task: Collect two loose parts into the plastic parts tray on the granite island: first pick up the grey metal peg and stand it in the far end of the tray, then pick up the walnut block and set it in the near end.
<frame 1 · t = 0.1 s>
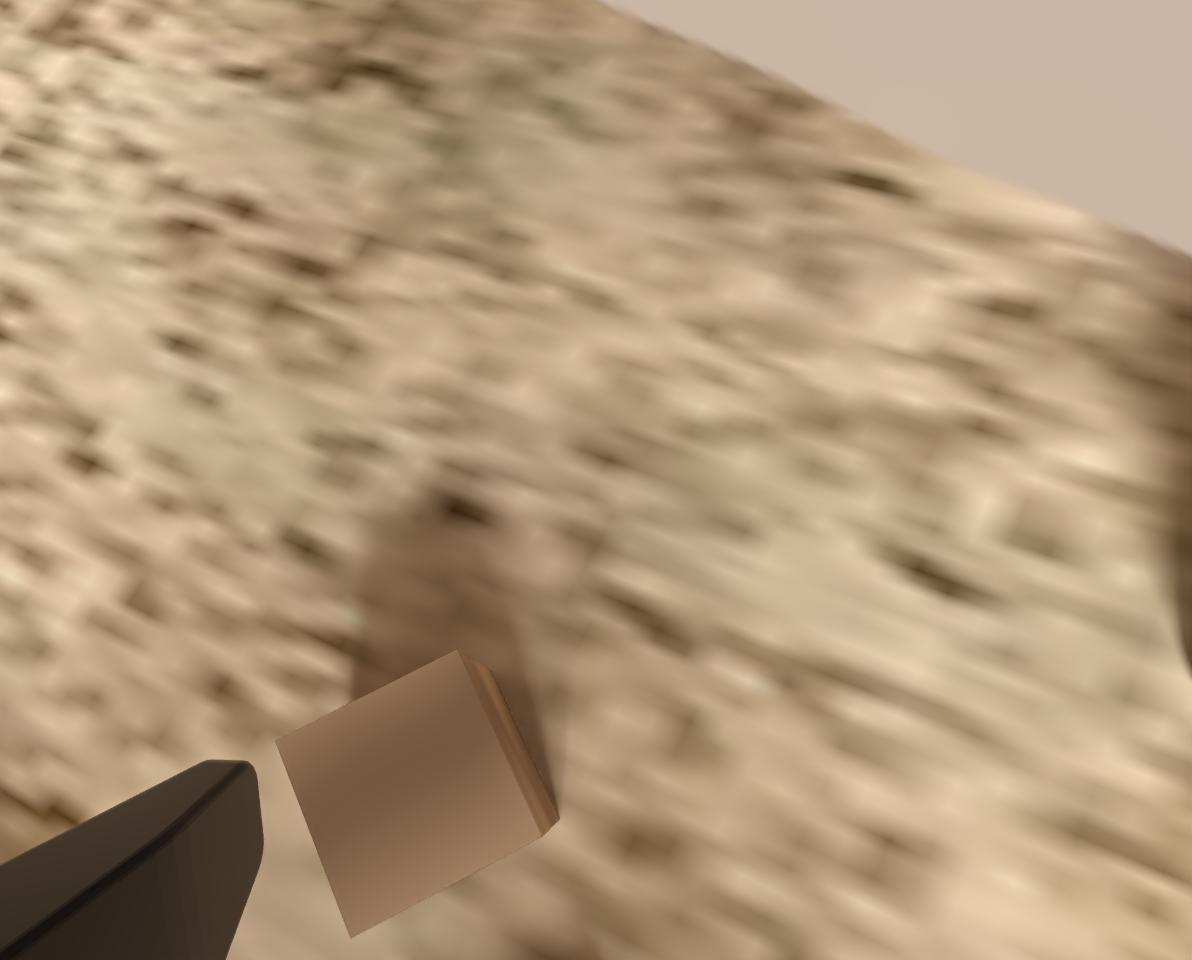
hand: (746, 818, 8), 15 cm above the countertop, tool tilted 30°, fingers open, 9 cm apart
walnut block: (452, 780, 23), on the countertop
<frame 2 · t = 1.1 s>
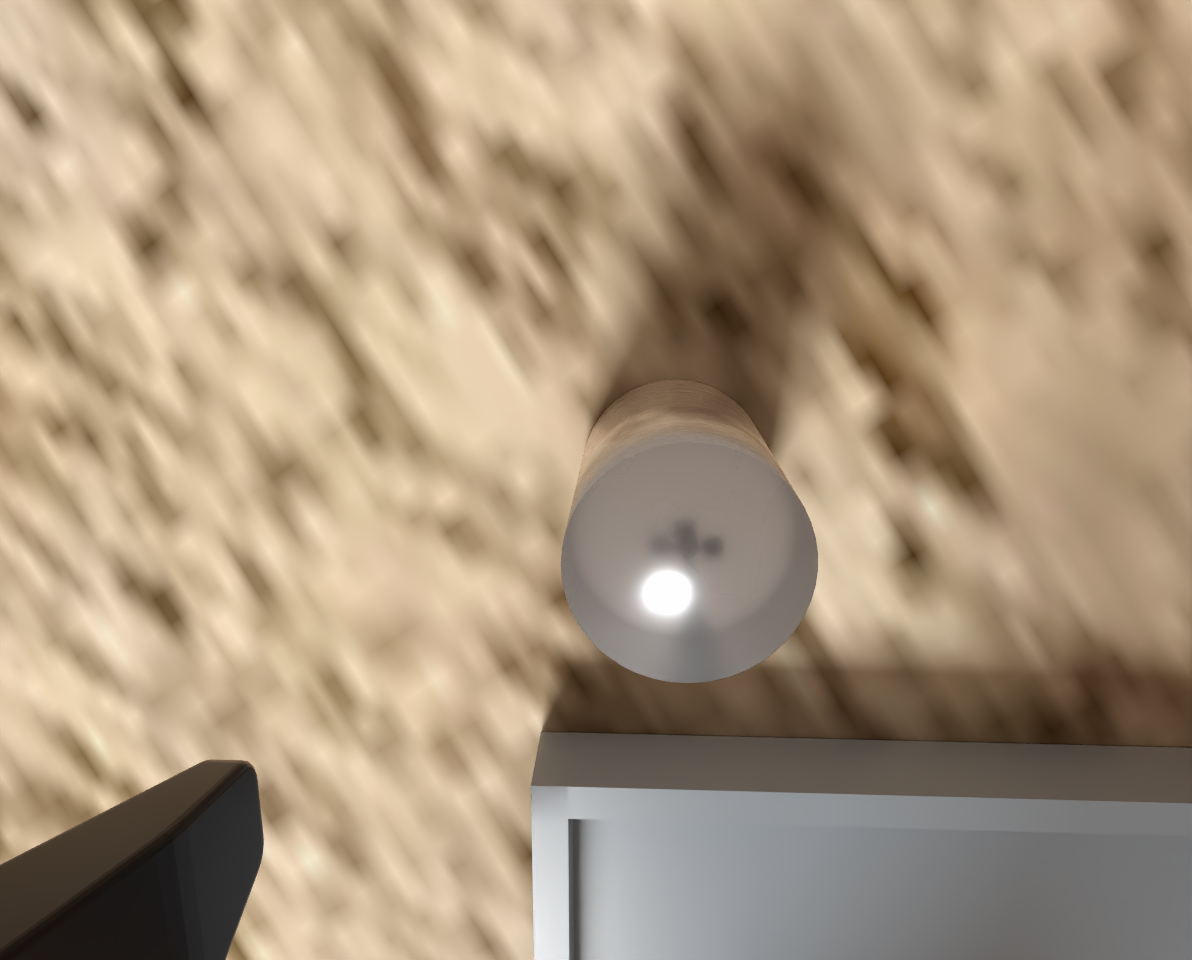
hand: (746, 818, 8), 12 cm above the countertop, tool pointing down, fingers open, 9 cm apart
grey peg: (673, 469, 20), on the countertop
parts tray: (901, 936, 23), on the countertop
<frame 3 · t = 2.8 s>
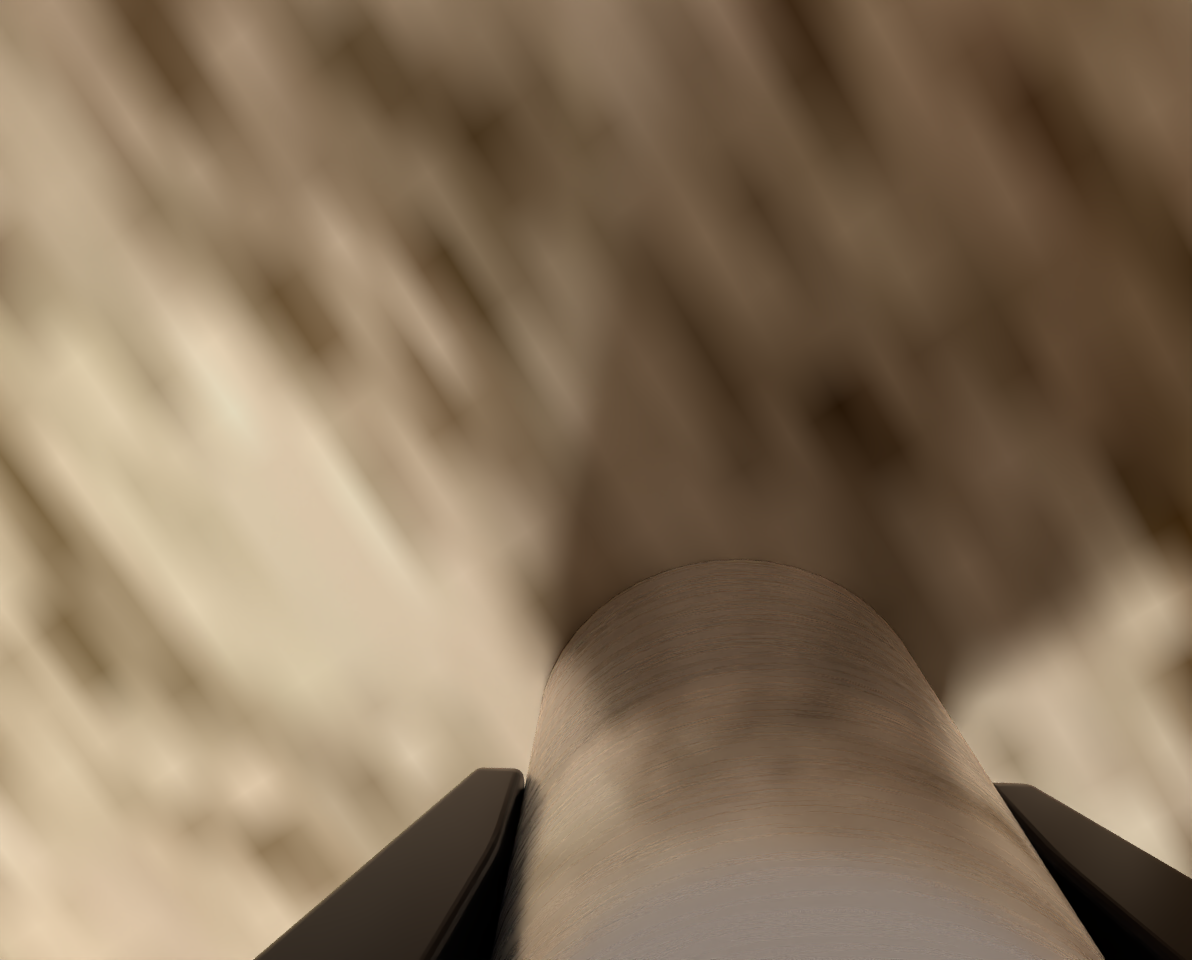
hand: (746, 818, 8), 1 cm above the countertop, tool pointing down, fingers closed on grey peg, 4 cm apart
grey peg: (731, 742, 9), on the countertop, touching gripper
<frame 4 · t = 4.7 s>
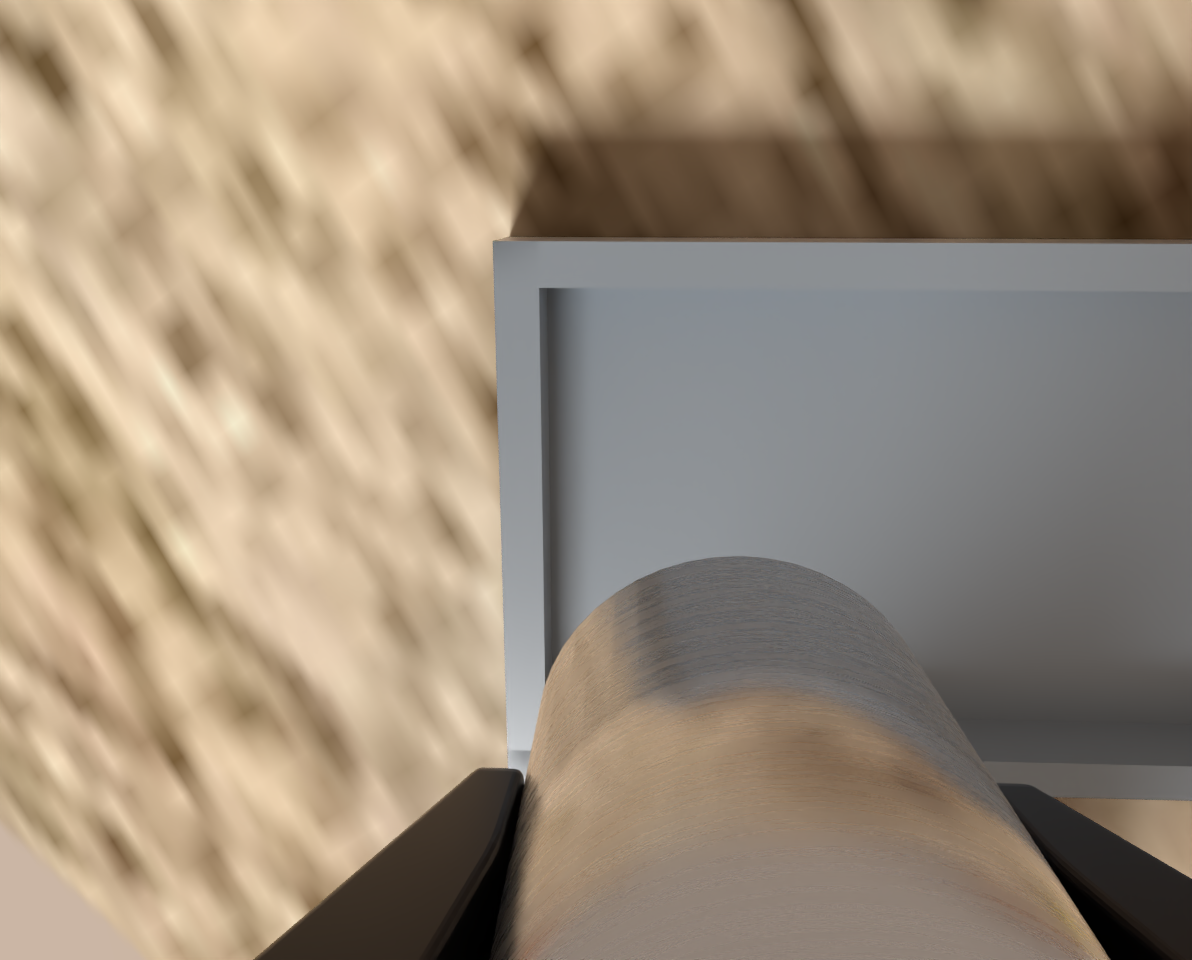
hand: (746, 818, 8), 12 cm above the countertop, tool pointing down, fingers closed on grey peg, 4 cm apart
grey peg: (732, 739, 9), point 10 cm above the countertop, touching gripper
parts tray: (938, 507, 19), on the countertop
when the fingers open (3 cm above the countertop, at t = 6.8 s): grey peg drops 1 cm, resting on parts tray.
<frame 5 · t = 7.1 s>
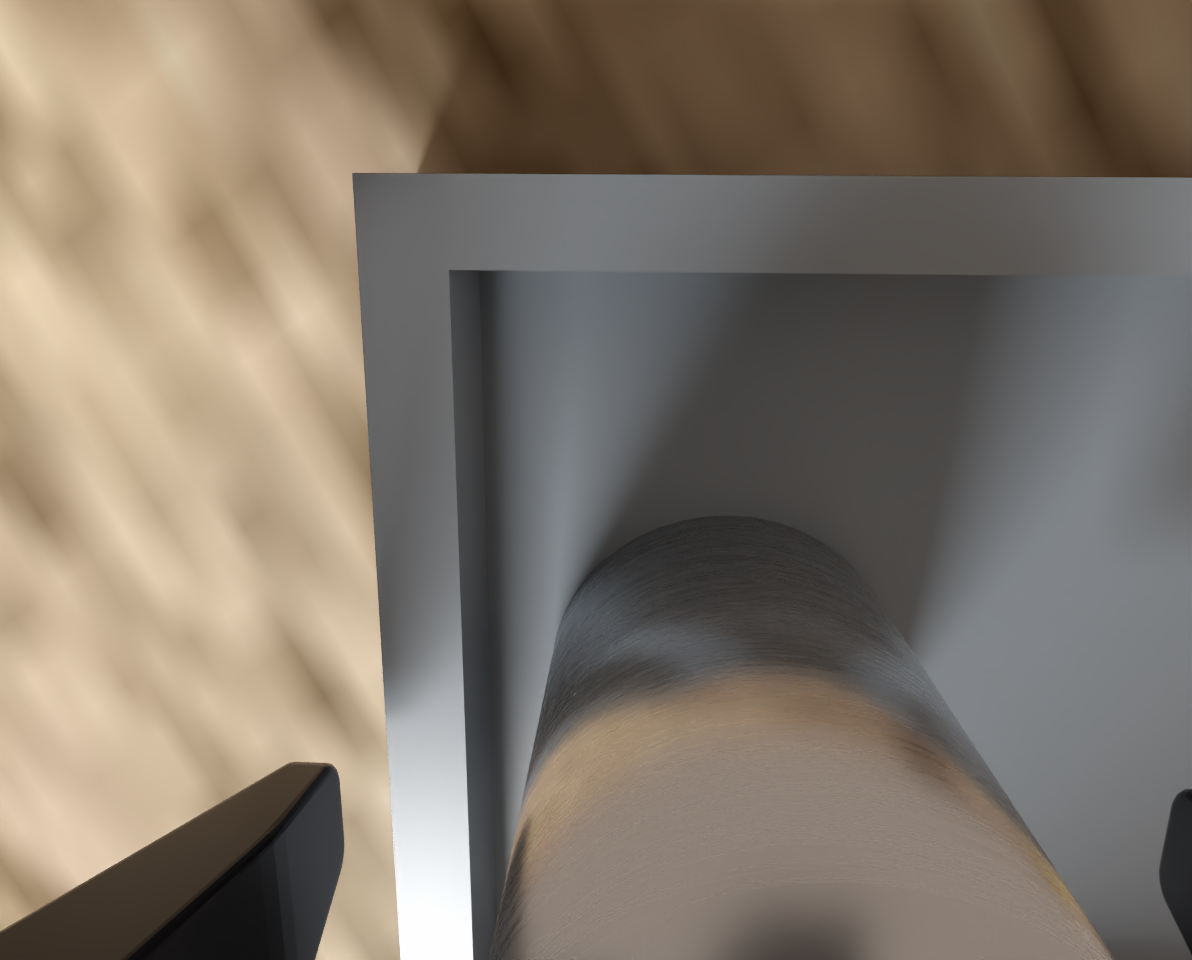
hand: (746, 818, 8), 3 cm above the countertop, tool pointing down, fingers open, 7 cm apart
grey peg: (722, 679, 11), point 1 cm above the countertop, touching parts tray
parts tray: (1172, 666, 11), on the countertop
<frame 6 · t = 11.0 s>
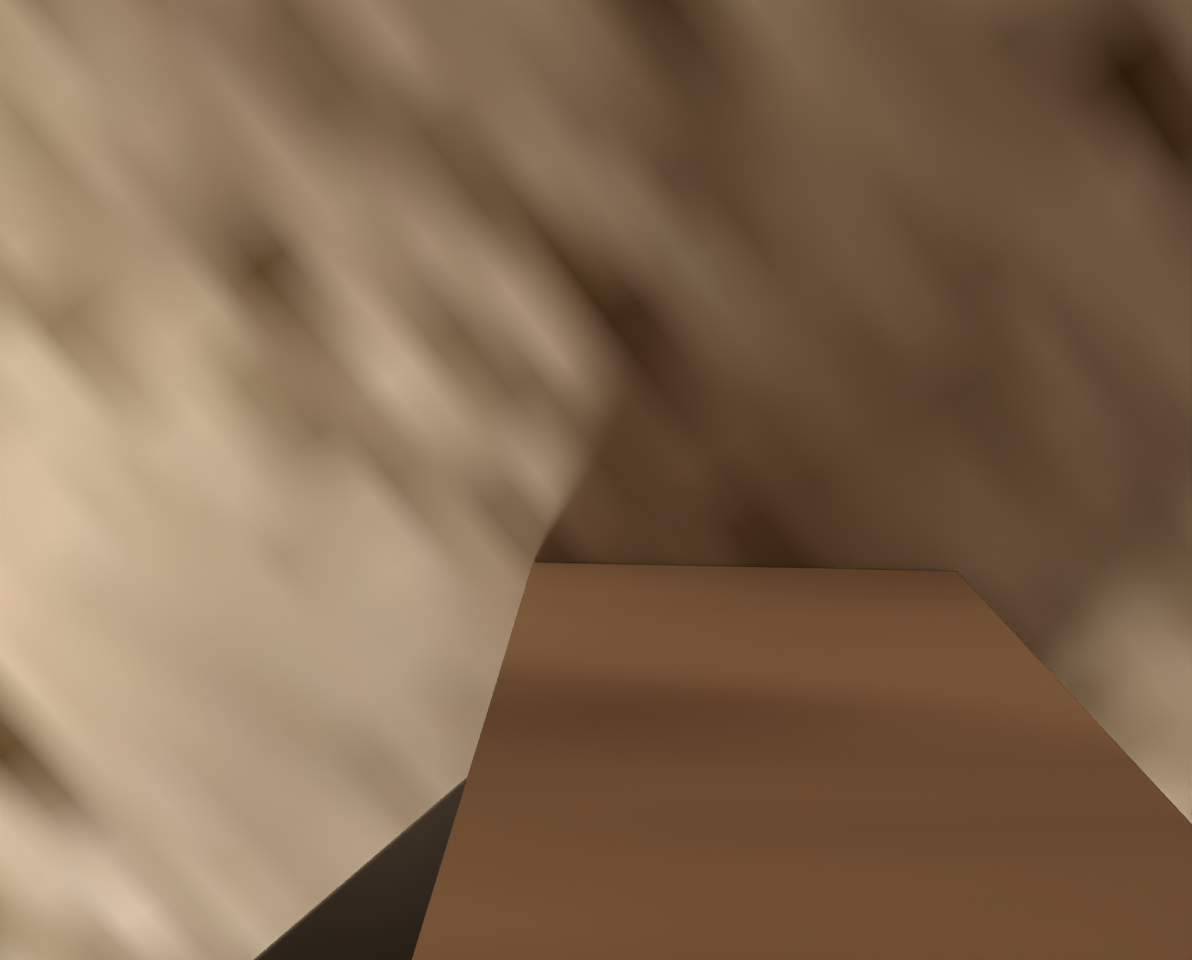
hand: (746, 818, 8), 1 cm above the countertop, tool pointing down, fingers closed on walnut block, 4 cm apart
walnut block: (733, 753, 9), on the countertop, touching gripper
when the fingers open (3 cm above the countertop, at t = 15.1 s): walnut block drops 1 cm, resting on parts tray.
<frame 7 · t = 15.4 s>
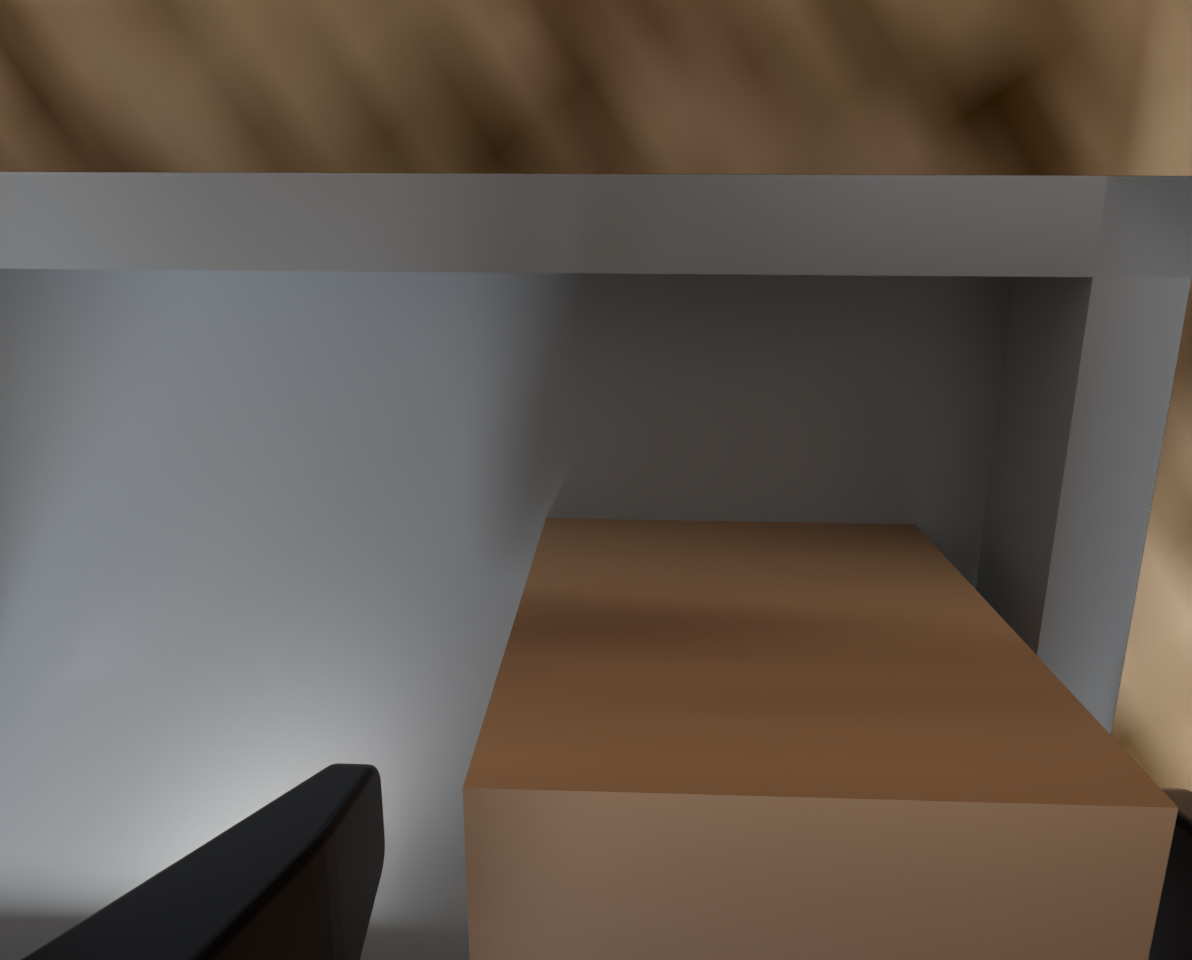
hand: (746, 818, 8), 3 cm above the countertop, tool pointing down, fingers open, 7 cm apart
walnut block: (721, 686, 11), point 1 cm above the countertop, touching parts tray
parts tray: (271, 651, 11), on the countertop
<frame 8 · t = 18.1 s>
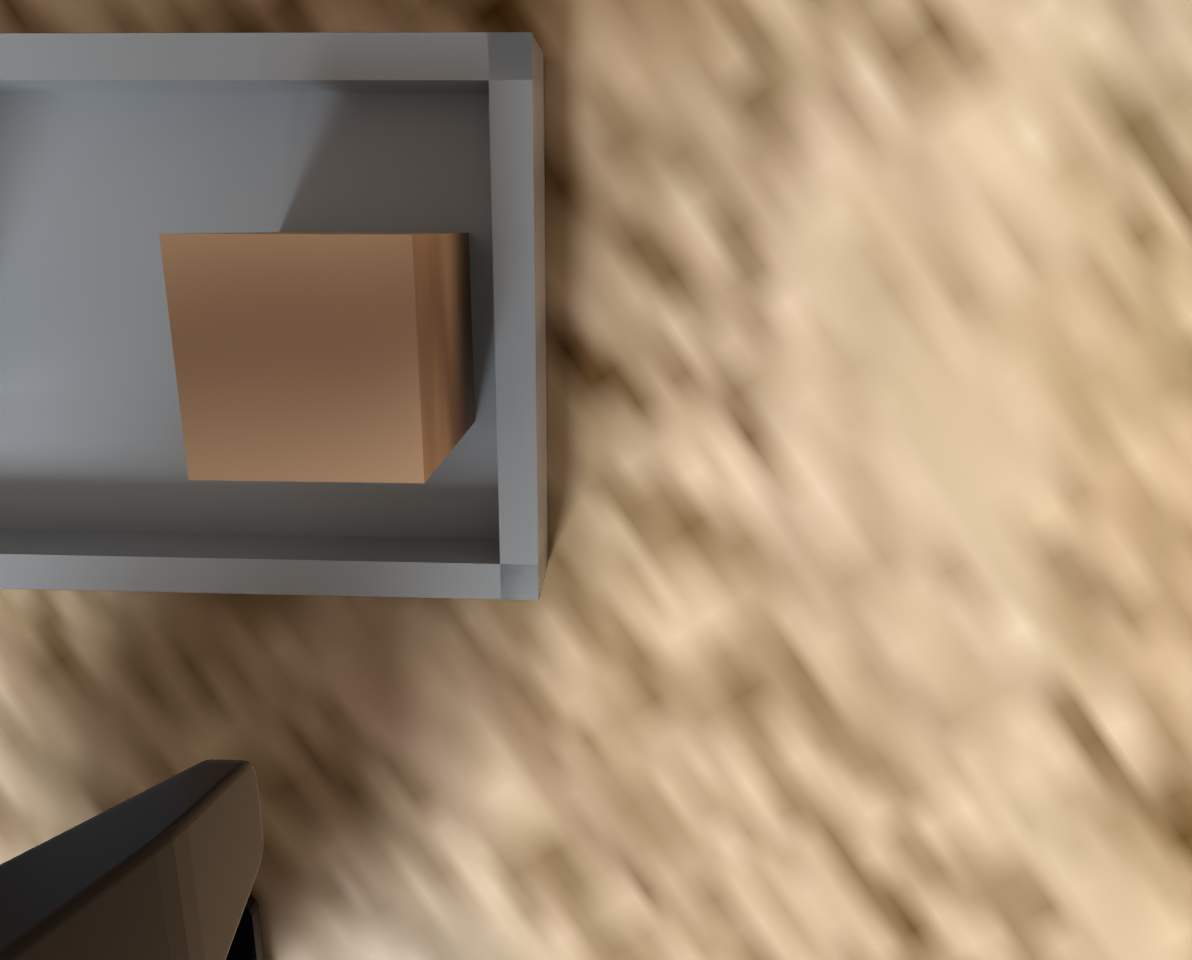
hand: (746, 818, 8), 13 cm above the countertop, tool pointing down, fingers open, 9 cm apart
walnut block: (379, 329, 20), point 1 cm above the countertop, touching parts tray
parts tray: (143, 323, 20), on the countertop
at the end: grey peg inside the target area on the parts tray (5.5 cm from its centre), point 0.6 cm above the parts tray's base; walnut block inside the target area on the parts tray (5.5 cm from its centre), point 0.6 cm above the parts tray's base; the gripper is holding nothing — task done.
